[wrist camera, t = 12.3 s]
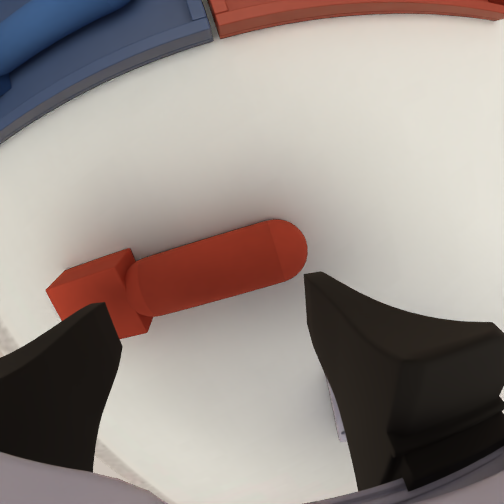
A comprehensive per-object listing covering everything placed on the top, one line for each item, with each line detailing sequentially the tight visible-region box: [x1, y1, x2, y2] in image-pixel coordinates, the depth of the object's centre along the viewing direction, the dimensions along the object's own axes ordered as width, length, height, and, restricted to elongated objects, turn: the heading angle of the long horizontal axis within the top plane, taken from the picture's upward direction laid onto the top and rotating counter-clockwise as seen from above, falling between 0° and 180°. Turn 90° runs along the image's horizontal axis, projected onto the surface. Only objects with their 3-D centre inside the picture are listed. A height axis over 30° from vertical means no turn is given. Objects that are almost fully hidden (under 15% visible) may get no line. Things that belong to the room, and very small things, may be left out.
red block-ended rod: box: [46, 219, 308, 339], centre depth 15 cm, size 13×4×3 cm, turn 106°
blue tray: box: [0, 0, 213, 144], centre depth 10 cm, size 10×17×2 cm, turn 106°
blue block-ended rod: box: [0, 0, 131, 96], centre depth 9 cm, size 13×4×3 cm, turn 106°
